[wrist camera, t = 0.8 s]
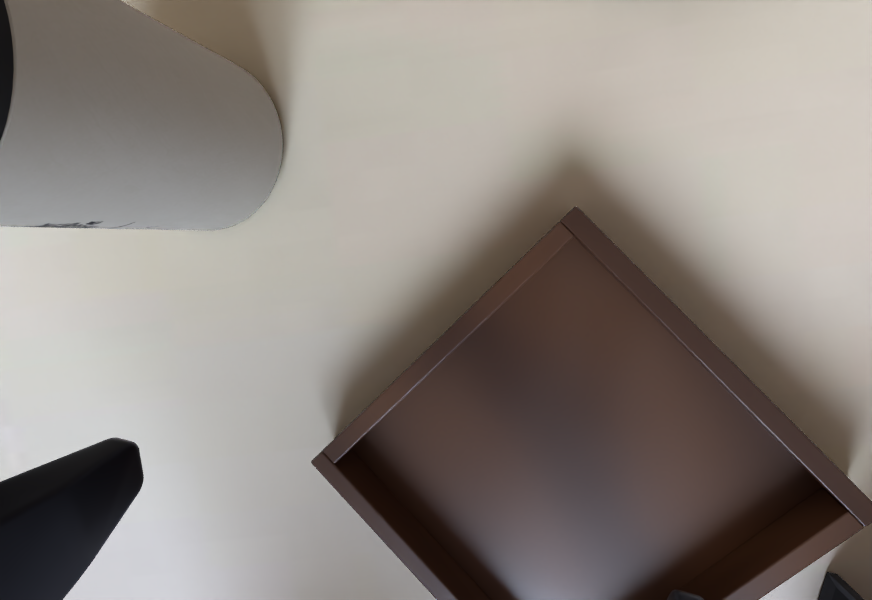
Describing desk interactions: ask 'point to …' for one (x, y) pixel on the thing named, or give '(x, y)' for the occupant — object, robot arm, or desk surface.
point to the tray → (587, 448)
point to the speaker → (837, 589)
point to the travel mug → (126, 123)
